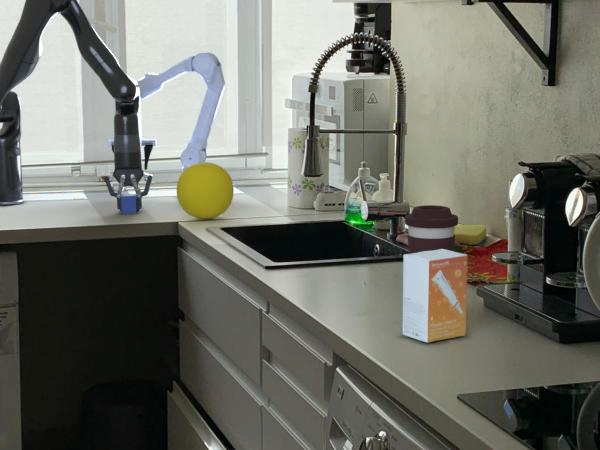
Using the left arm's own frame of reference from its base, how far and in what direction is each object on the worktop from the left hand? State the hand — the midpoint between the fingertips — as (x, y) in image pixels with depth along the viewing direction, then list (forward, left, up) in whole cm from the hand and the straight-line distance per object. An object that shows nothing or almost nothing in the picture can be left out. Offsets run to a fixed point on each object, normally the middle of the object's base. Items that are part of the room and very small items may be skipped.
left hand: (129, 210), depth 292 cm
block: (0, 0, 0) cm, 0 cm away
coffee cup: (+120, -5, 0) cm, 120 cm away
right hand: (-25, +16, +8) cm, 31 cm away
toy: (+24, +9, 0) cm, 26 cm away
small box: (+144, -30, 0) cm, 147 cm away
